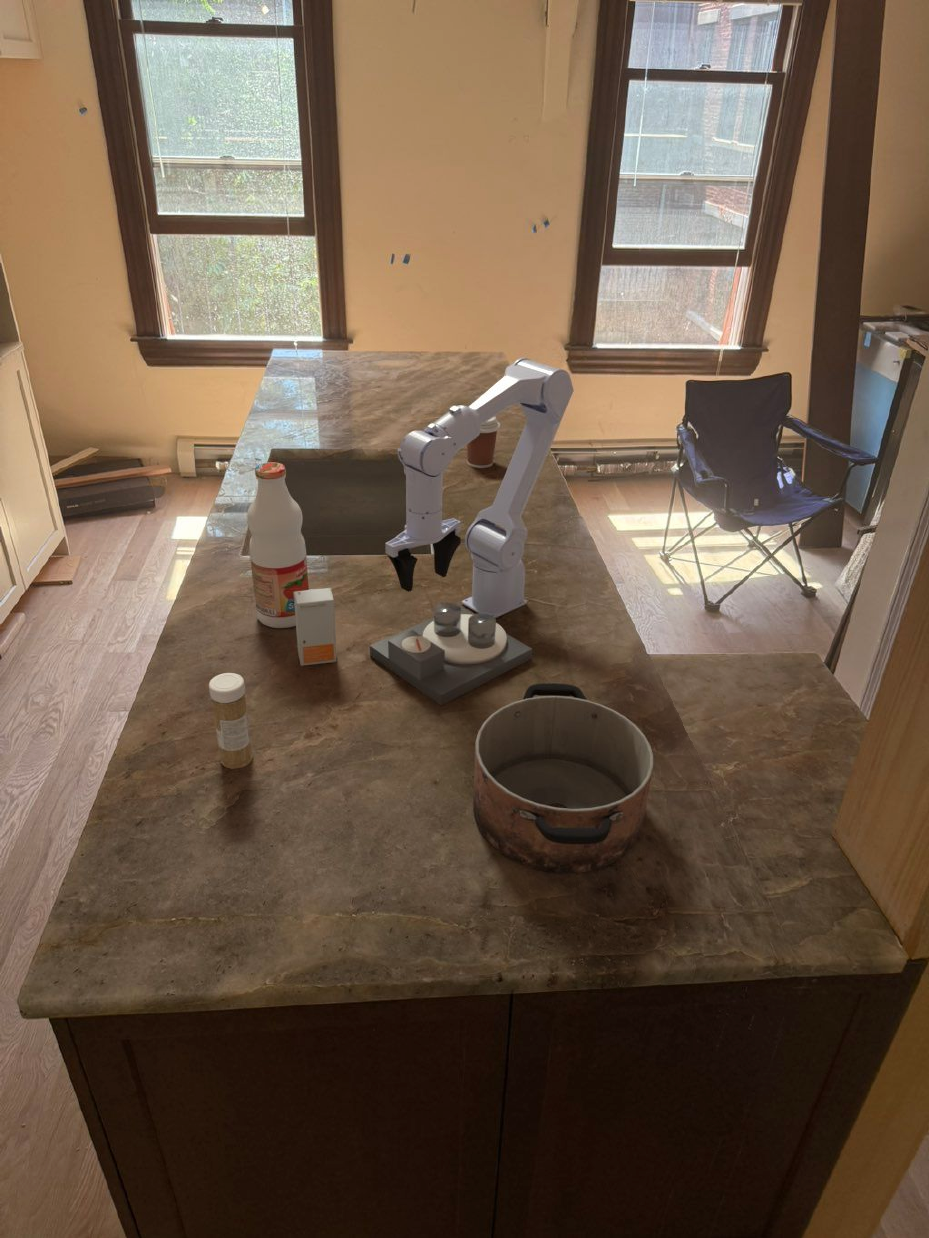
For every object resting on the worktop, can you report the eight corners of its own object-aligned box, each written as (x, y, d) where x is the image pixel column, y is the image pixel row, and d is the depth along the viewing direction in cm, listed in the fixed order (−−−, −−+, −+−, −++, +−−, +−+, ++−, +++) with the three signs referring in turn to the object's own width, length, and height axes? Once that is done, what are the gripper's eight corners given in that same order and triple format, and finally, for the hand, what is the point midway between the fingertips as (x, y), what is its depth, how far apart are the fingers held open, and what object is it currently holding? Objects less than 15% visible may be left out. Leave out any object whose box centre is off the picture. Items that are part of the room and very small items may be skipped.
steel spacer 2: (481, 631, 148) (482, 610, 145) (500, 642, 145) (501, 621, 143) (462, 640, 145) (462, 619, 143) (480, 651, 142) (481, 631, 140)
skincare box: (300, 667, 142) (295, 603, 136) (297, 653, 146) (292, 590, 139) (338, 662, 144) (334, 599, 137) (334, 648, 147) (330, 586, 141)
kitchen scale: (459, 615, 157) (460, 586, 154) (531, 658, 146) (533, 628, 143) (370, 655, 146) (369, 624, 143) (441, 705, 134) (441, 673, 131)
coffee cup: (456, 459, 223) (457, 413, 217) (488, 455, 227) (490, 409, 220) (471, 472, 216) (473, 425, 210) (504, 467, 220) (507, 420, 213)
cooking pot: (471, 737, 128) (473, 677, 123) (622, 740, 129) (632, 681, 123) (474, 900, 103) (477, 833, 97) (663, 903, 103) (677, 837, 98)
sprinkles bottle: (222, 749, 124) (211, 671, 117) (255, 748, 125) (245, 670, 118) (218, 771, 120) (205, 692, 113) (251, 769, 121) (241, 690, 114)
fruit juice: (265, 600, 160) (250, 455, 146) (316, 604, 159) (306, 458, 145) (250, 627, 152) (232, 476, 137) (303, 631, 151) (291, 480, 137)
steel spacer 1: (447, 620, 150) (447, 599, 148) (466, 630, 148) (466, 609, 146) (428, 629, 147) (428, 609, 145) (447, 640, 145) (447, 619, 143)
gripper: (441, 487, 146) (440, 560, 153) (372, 510, 137) (374, 586, 144) (470, 501, 142) (467, 575, 149) (401, 525, 133) (402, 602, 140)
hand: (423, 581), depth 146 cm, fingers open, 7 cm apart
